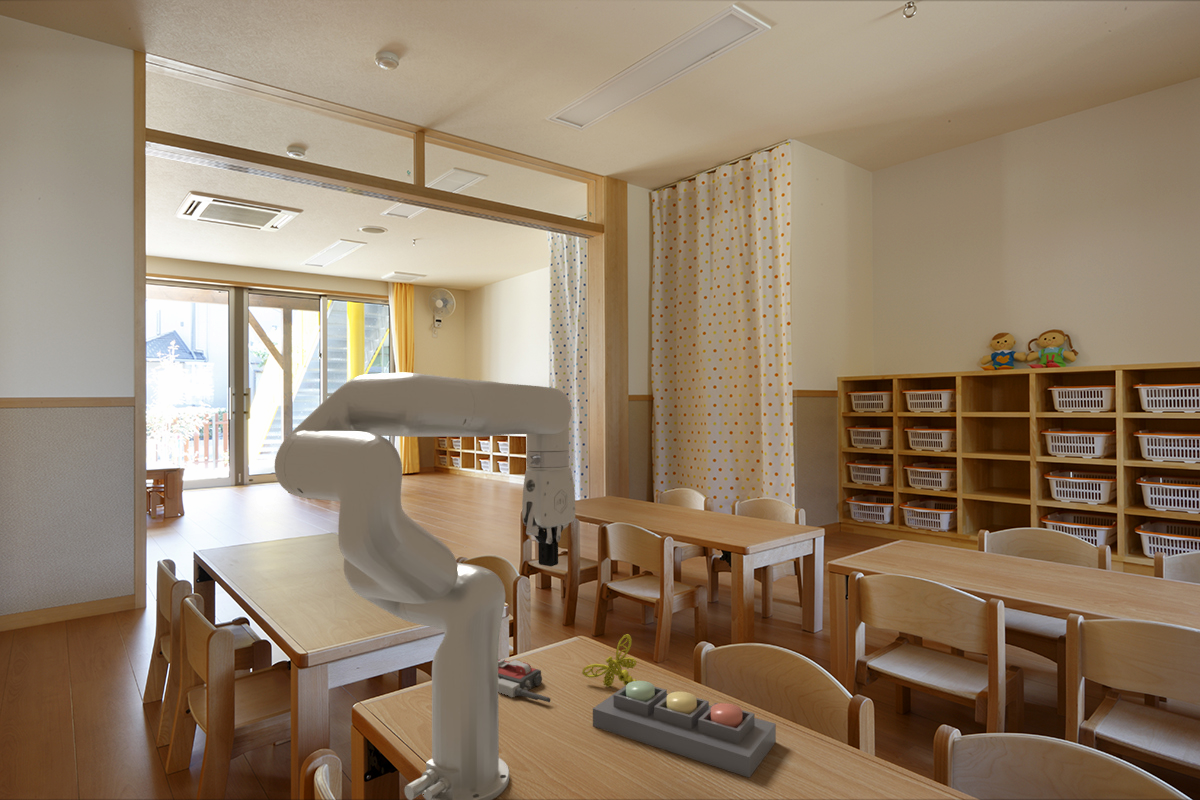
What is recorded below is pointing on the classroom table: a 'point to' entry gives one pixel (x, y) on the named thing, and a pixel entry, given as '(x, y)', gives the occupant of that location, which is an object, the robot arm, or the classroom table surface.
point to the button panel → (688, 731)
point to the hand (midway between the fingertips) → (548, 564)
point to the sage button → (640, 690)
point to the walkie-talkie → (518, 679)
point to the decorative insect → (615, 666)
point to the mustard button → (682, 702)
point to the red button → (726, 714)
